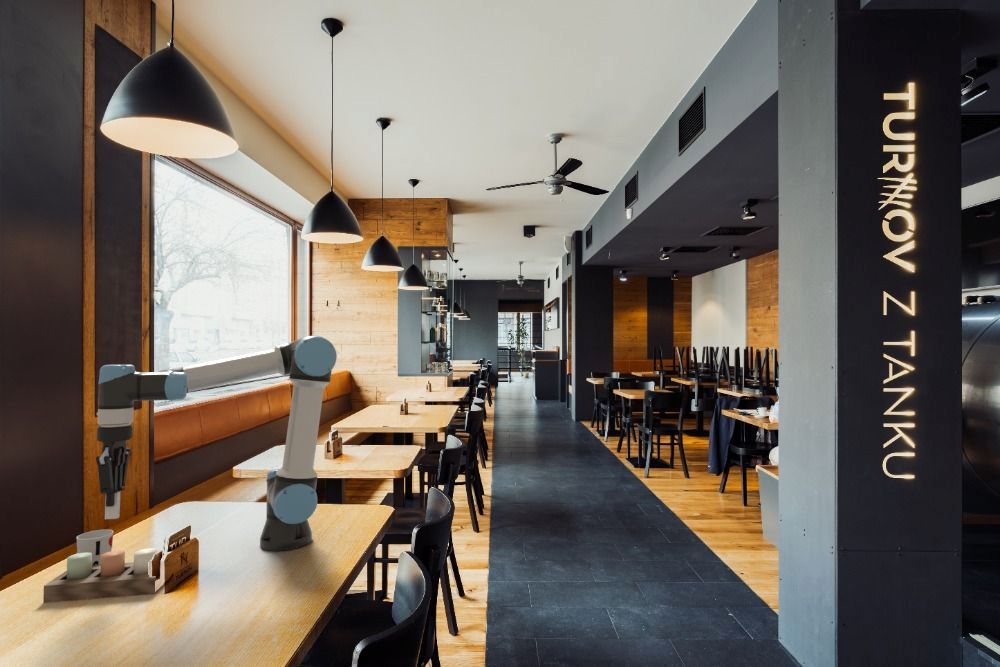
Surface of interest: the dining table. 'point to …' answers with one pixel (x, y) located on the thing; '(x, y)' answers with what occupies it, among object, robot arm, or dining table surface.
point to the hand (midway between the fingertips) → (112, 518)
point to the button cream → (143, 560)
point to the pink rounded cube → (112, 563)
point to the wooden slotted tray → (99, 586)
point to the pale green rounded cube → (79, 565)
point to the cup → (95, 544)
